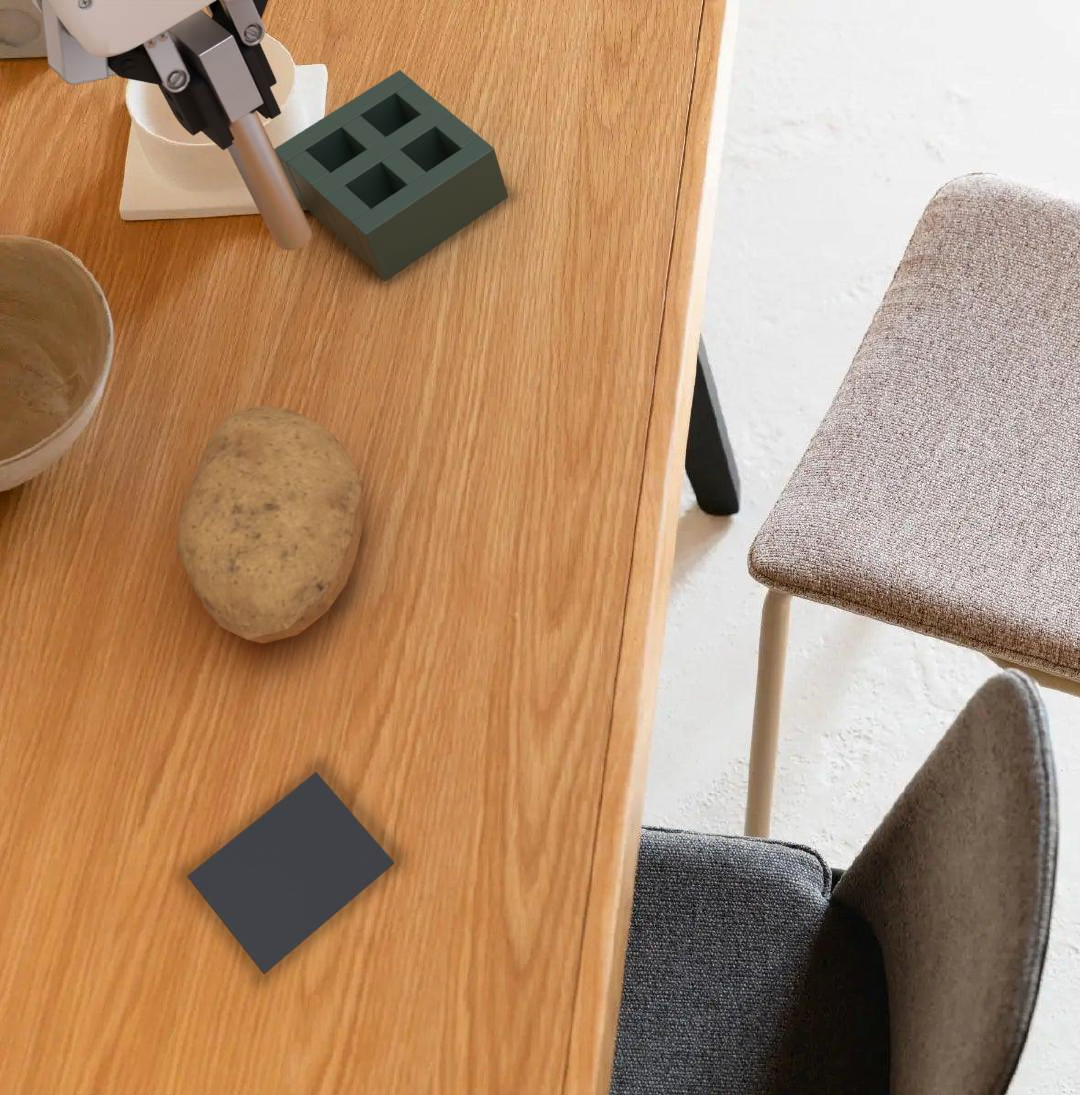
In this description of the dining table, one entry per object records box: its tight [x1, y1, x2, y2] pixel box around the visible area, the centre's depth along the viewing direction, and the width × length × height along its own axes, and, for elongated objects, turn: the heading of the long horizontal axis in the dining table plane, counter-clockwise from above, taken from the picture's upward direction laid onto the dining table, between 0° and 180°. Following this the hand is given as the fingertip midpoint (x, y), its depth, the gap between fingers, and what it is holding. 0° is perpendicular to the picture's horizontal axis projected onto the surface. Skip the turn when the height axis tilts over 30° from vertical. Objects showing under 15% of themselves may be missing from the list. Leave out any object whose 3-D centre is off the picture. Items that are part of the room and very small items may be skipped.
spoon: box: [167, 9, 313, 251], centre depth 71 cm, size 4×2×14 cm, turn 46°
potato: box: [176, 404, 366, 644], centre depth 81 cm, size 10×14×8 cm
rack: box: [274, 69, 509, 282], centre depth 95 cm, size 10×10×5 cm
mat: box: [187, 771, 395, 975], centre depth 75 cm, size 7×8×1 cm
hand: (234, 115), depth 70 cm, fingers closed on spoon, 2 cm apart
